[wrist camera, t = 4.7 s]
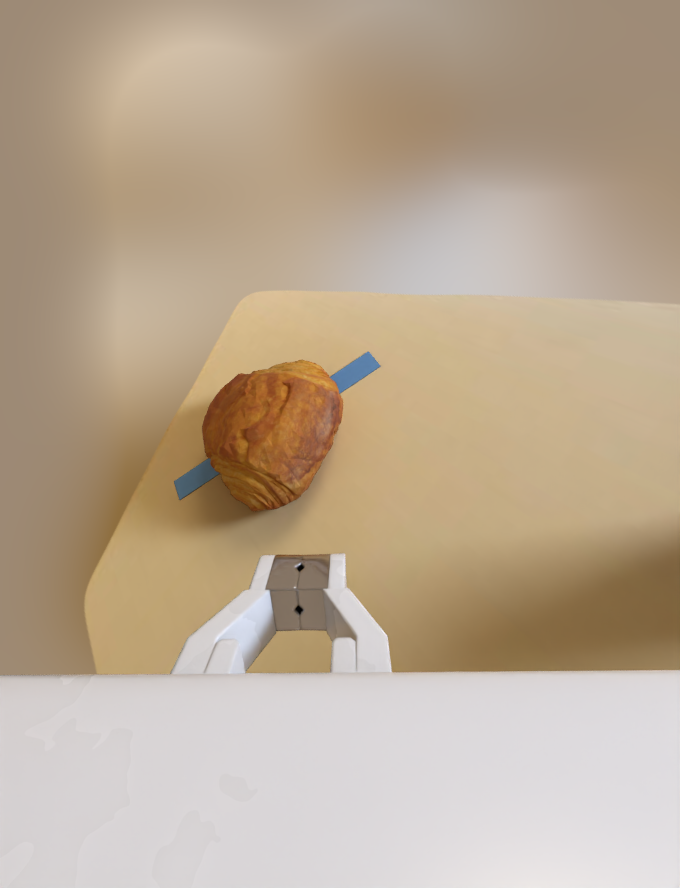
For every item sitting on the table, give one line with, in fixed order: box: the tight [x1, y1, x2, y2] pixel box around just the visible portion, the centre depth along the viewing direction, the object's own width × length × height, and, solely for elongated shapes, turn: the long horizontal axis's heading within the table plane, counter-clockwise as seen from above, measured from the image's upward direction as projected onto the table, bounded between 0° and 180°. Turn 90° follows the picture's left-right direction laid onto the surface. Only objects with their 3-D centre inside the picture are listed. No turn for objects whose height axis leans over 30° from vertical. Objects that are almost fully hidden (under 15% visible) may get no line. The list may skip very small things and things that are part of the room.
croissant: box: [202, 360, 343, 511], centre depth 33 cm, size 14×16×8 cm
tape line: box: [174, 352, 380, 500], centre depth 37 cm, size 2×26×1 cm, turn 120°
